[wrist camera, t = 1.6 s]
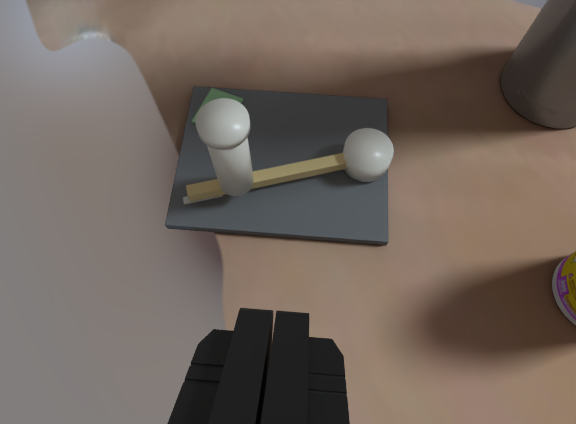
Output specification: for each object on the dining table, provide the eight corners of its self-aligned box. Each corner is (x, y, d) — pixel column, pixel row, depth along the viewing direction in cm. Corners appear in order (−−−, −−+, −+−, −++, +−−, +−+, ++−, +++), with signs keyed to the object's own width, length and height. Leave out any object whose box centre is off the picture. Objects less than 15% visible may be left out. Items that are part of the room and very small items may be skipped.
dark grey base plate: (195, 91, 42) (193, 84, 41) (385, 104, 41) (387, 96, 40) (167, 228, 36) (163, 223, 35) (386, 245, 36) (389, 240, 35)
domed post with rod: (380, 137, 38) (407, 59, 30) (394, 176, 37) (428, 106, 28) (186, 176, 37) (155, 106, 28) (193, 219, 35) (162, 159, 27)
